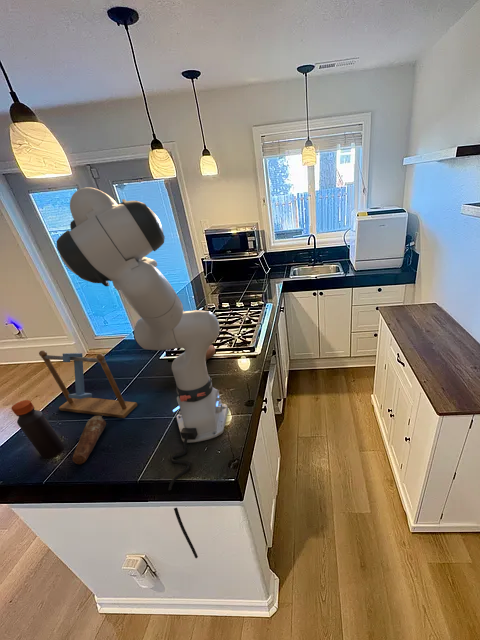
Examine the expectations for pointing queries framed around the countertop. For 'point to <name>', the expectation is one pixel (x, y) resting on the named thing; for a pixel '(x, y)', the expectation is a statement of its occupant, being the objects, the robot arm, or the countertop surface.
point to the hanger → (77, 376)
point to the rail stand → (88, 404)
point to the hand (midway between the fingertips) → (144, 300)
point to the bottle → (37, 429)
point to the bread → (88, 439)
